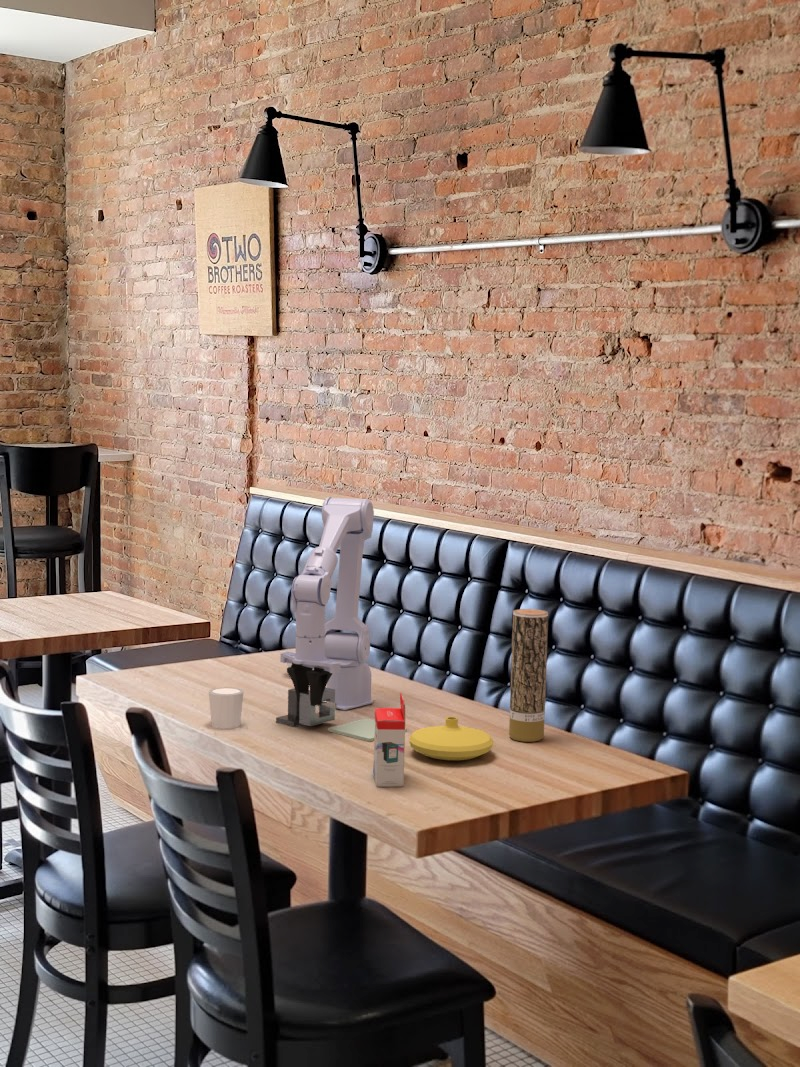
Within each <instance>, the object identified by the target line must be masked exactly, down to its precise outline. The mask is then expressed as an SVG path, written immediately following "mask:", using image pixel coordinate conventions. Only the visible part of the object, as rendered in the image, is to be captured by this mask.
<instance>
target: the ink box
mask: <svg viewBox="0 0 800 1067" xmlns="http://www.w3.org/2000/svg"><path fill="white" fill-rule="evenodd" d="M402 693H403V692H399V702H400V704H399V705H400V708H398V707H378V708H377V707H376V708H375V709H374V720H375V735H374V741H373V744H374V745H373V767H372V768H373V770H372V772H373V778H374V781H375V786H376V788H377V787H378V788H380V787H384V788H386V787H387V788H388V787H389V788H390V787H391V788H397V787H404V786H405V751H406V750H405V746H406V732H405V728H406V702H405V700H404V697H403V694H402Z"/></svg>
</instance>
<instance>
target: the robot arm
mask: <svg viewBox="0 0 800 1067" xmlns="http://www.w3.org/2000/svg"><path fill="white" fill-rule="evenodd" d="M374 515H375V511H374V505H373V503H372V501H371V500H370V499H369V498H363V499H362V498H345V497H332V496H327V497H326V498H325V499H324V501H323V503H322V505H321V521H322V523H323V531H322V535H321V538H320V541H319V546H316V547H314V548H312V550H311V552H310V553H309V556H308V558H307V561H306V563H305V566H304V567H303V570H302V572H301V574H299V575H297V576H295V577H294V579H293V580H292V585H291V590H290V592H291V593H290V594H291V600H292V603H293V605H292V606H293V611H294V613H295V651H296V653H293V652H294V651H283V652H280V657H279V658H280V663H282V664H284V663H285V664H287V663H291V664H292V665H291V667H288V666H287V667H286V672H287V674H288V676H289V678H290V679H291V681H292V684H293V689H294V688H295V691H296V695H297V700H298V702H299V703H300V693H301V692H305V691H309V690H310V702H311V706H315V707H316V706H319V705H320V704H321V700H322V696H323V693H324V690H325V687H326V688H331V689H335V703H336V704H337V707H336V709H339V710H341V711H342V710H343V711H347V710H351V709H352V710H353V709H356V708H359V707H363V706H367V705H371V704H374V702H375V700H372V670H371V668H370V666H369V664H368V663H366V661H367V660H368V659H369V656H370V653H371V641H370V628H369V627H368V625H366V624H365V623H364V622H363V621H362V620H361V619H360V618H359V617H358V614H359V603H360V590H361V589H360V588H361V578H362V568H363V567H362V565H363V553H364V545H365V541H367V540H369V539H370V538H372V533H373V527H374V517H375V516H374ZM339 548H340V549H339ZM338 550H339V558H338V555H337V551H338ZM338 564H339V565H338ZM337 565H338V574H337V586H336V587H337V588H336V599H335V610H334V611H335V612H334V617H332V618H331V619H330V620H328V621H327V622H326V605H327V604H328V601H329V600H330V595H331V588H332V584H333V582H332V580H331V579H332V577H333V575H334V572H335V570H336V567H337ZM340 631H341V632H340ZM342 631H350V632H342ZM351 631H352V632H353V633H352V632H351ZM354 632H356V633H354ZM286 662H287V663H286ZM313 668H314V670H312V669H313Z"/></svg>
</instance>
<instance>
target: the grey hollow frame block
mask: <svg viewBox="0 0 800 1067" xmlns="http://www.w3.org/2000/svg"><path fill="white" fill-rule="evenodd" d="M322 700H324V701H329V702H333V703H335V689H331V688H327V686H326V687H325V690H324V693H323V696H322ZM322 700H321V701H322ZM335 714H336V709H332V708H327V707H323V706H319V705H318V712H316V706H311V702H310V689H309V691H305V692H301V693H300V709H299V724H303V725H304V726H309V727H312V726H317V725H321V724H324V723H328V722H331V721H335V720H336V718H335V716H336V715H335ZM303 725H302V726H303Z"/></svg>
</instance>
